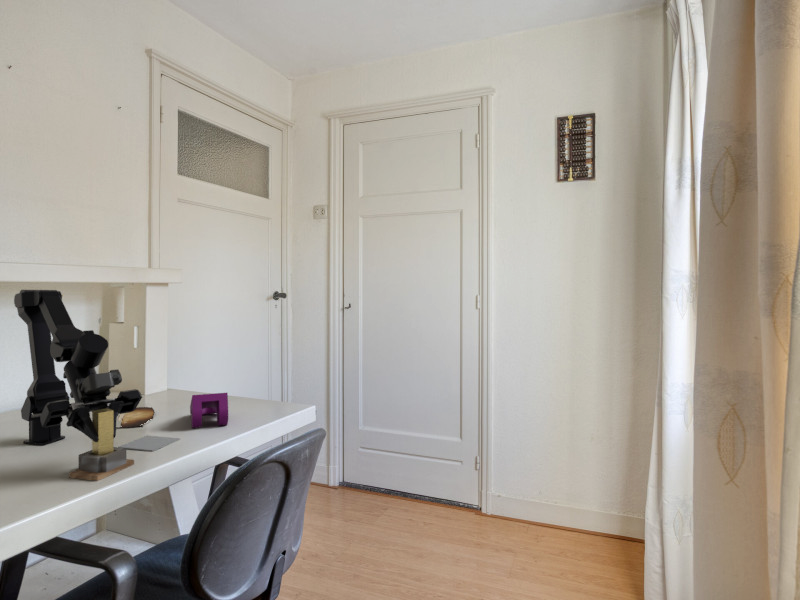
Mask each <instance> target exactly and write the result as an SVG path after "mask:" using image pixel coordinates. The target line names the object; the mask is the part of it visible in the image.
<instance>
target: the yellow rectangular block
mask: <svg viewBox="0 0 800 600" xmlns="http://www.w3.org/2000/svg"><path fill="white" fill-rule="evenodd" d="M91 414H92V415H91V416H92V417H91V420H92V422H93V424H94V427H95V429H96V431H97V434H98V438H99V440H98V442H94V441H93V440H92V439H91V441H92V442H91V443H92V444H91V446H92V447H91V450H92V455H98V456H105V455H107V454H110V453H112V452H113V447H114V439H115V438H114V437H113V434H114V410H111V409H108V408H106V409H100V410H95V411H92V413H91Z"/></svg>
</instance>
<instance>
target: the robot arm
mask: <svg viewBox="0 0 800 600" xmlns="http://www.w3.org/2000/svg"><path fill="white" fill-rule="evenodd" d="M13 297H14V298H13V299H14V300H13V304H14V307H15V308H17V309H16V310H17V315H18V316H19V318H20V319H21V320H22V321H23V322H24V323H25V324H26V325H27V326H26V327H27V333H28V334H27V335H28V340H29V341H28V343H29V349H30V350H29V351H30V360H31V370H32V378H33V379H32V380H33V381H31V384H30V385H29V387H28V389H27V391H26V398H25V400H24V402H23V404H22V406H21V409H20V415H21V419H22V420H24V421H25V422H28V439H24V440H23V441H22V442H23V444H26V445H27V444H29V445H38V446H45V445H48V444H50V443H53V442H57V441H61V440H64V439H65V438H66V435H61V434H62V431H61V430H62V426H61V425H62V422H63V417H66V418H67V422H66V426H67V427H73V428H74V429H76V430H77V431H79V432H81V433H82V434H84V435H85V436H87V437H88V438H89V439H90V440H91V441H92V440H93V441H94V442H98V440H99V438H98V434H97V431H96V429H95V427H94V424H93V422H92V417H91V415H90V413H91V412H92V411H95V410H100V409H106V408H108V409H111V410H114V434H113V437H114V438H113V439H115V438H116V435H117V434H116V433H117V428H116V427H117V421H118V419H117V417H118V416H119V415H120V414H123V413H129V412H132V411H134V410H135V409H136V408H137V407H138V405H139V404H140V402H141V400H142V398H143V396H142V394H141V391H140V390H139V389H136V388H134V389H127V390H120V391H119V394H118V395H117V397H115V398H113V397H112V398H107V397H108V396H110V395H111V389H112V388H115V386H119V385H120V384H121V383H122V381H123V378H122V374H121V372H120V370H119V369H111V370H109V371H108V372H103V373H102V372H101V373H97V371H96V367H98V366H99V365H100V363H101V362H102V360H103V357H104V356H105V354H106V352H107V349H108V347H109V341H108V339H106V338H105V337H104V336H102V335H100V334H97V333H95V332H94V330H91V329H90V330H81V329H79V328H77V327H76V326H75V324H74V322H73V321H72V318H71V317H70V315H69V312H68V310H67V308H66V306H65V304H64V302H63V295H62V292H61V291H60V290H57V289H21V290H19V292H18V293H16V294H15V295H14V296H13ZM55 362H56V363H65V362H66V363H65V365H64V366H63V376H62V377H63V379H66V380H67V383H68V386H69V388H70V393H68V392H67V390H66V389H67V388H66V382H65V381H64V380H63V379H60V378H59V377H58V376H57V375H56V366H55ZM70 399H74V402H71V403H70Z"/></svg>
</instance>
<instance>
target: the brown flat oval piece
mask: <svg viewBox="0 0 800 600" xmlns="http://www.w3.org/2000/svg"><path fill="white" fill-rule="evenodd" d="M154 415H155V410H154V408H153V407H152V406H151V407H148V406H141V407H140V406H139V407H138V406H137V407H136V409H135V410H134V411H132V412H129V413H123V414H119V415H118V416H119V417H118V419H117V421H119V422H121V423H120V426H119V427H117V426H116V429H122V428H123V429H125V428H127V429H129V428H137V427H139V428H141V427H140V425H141V424H143V425H145V424H144V423H146V422H147V421H148V420H149V421H151V420H150V419H153V418H154ZM121 426H122V427H121Z"/></svg>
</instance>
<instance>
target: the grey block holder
mask: <svg viewBox="0 0 800 600" xmlns="http://www.w3.org/2000/svg"><path fill="white" fill-rule="evenodd" d="M118 447H119V446H118ZM118 447H116V446H113V452H112V453H110V454H107V455H105V456H98V455H92V449H91V450H88V451H86V452H83V453H80V454H78V469H75V470H73V471H71V472H69V473H68V474H69V475H68V476H69V478H70V479H78V480H79V479H80V480H86V481H87V480H89V481H97V482H98V481H101V480H102V479H105V478H107V477H109V476H111V475H114V474H115V473H116V474H117V472H118V473H119V471H123V470H125V469H126V468H128V467H131V466H133V465H135V459H132V458H131V459H130V458H127V449H123V448H118Z"/></svg>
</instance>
